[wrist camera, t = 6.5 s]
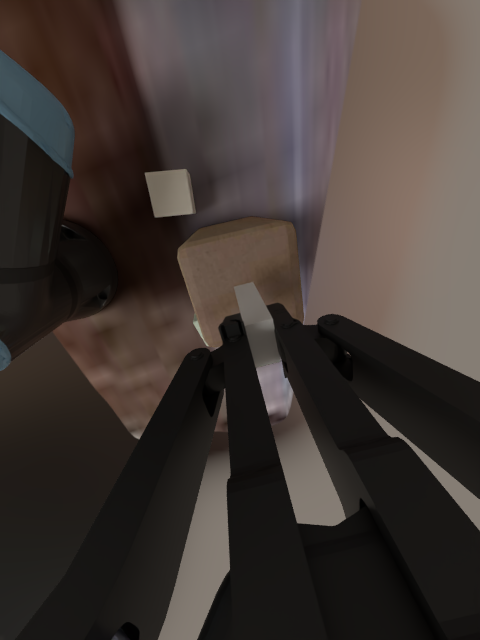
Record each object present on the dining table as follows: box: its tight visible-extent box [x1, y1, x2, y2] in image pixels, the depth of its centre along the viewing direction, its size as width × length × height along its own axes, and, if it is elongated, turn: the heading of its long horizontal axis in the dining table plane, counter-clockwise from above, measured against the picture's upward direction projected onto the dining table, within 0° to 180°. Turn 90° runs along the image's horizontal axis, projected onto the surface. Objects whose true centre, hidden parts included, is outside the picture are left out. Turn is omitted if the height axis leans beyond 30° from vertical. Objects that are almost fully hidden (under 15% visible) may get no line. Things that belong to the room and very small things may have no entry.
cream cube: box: [145, 169, 196, 218], centre depth 31 cm, size 5×5×5 cm
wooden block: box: [177, 216, 304, 347], centre depth 29 cm, size 10×10×20 cm
